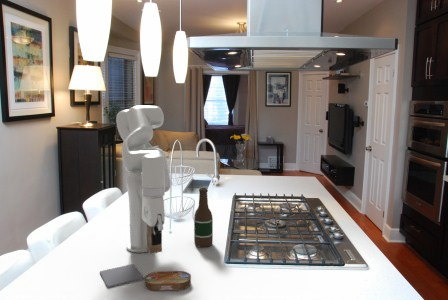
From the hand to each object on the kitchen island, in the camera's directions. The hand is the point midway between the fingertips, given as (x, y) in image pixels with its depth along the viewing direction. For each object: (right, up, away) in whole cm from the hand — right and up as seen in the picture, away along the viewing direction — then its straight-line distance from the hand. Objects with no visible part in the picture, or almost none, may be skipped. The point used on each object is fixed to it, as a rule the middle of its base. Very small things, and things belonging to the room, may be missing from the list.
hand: (154, 241), depth 126 cm
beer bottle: (+16, -8, +27) cm, 32 cm away
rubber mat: (-11, -12, -1) cm, 16 cm away
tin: (+6, -11, -3) cm, 12 cm away
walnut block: (0, -3, 0) cm, 3 cm away
